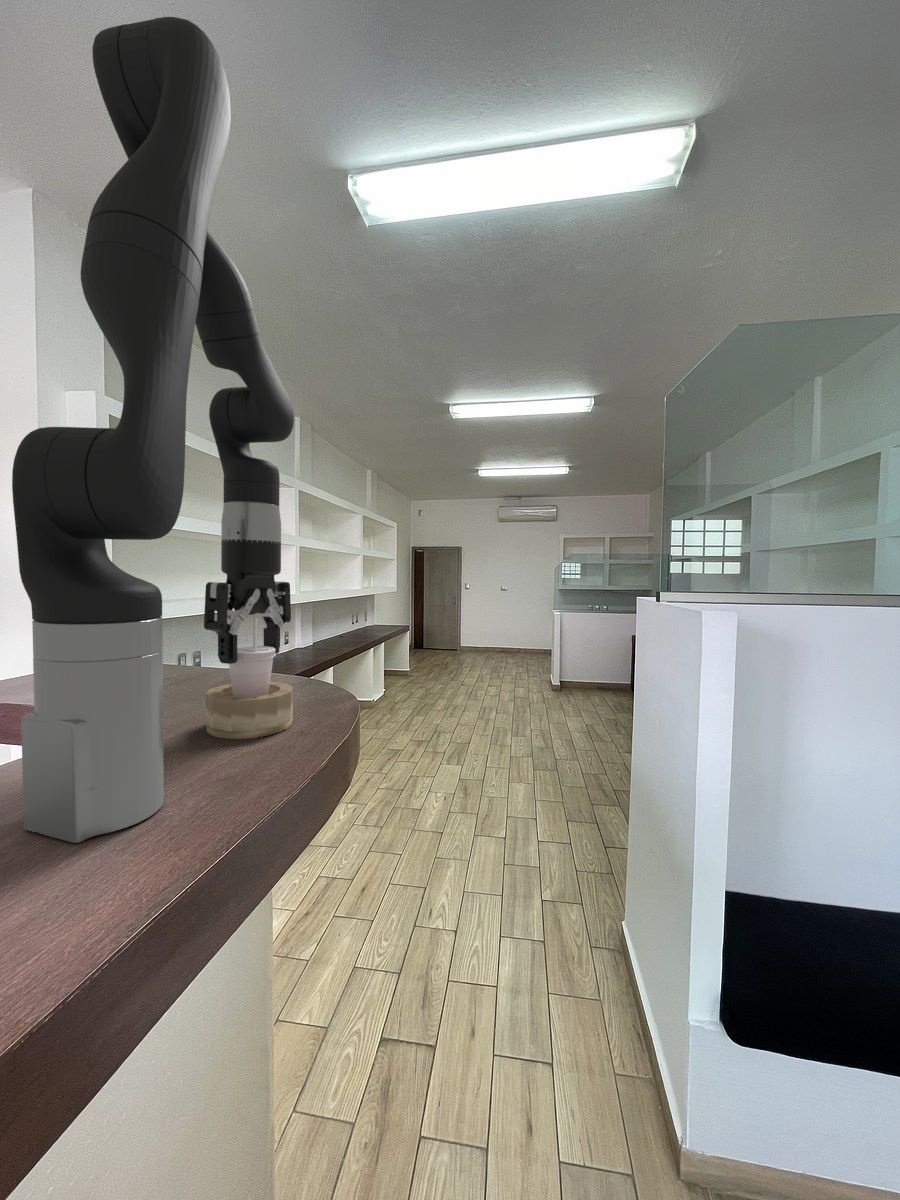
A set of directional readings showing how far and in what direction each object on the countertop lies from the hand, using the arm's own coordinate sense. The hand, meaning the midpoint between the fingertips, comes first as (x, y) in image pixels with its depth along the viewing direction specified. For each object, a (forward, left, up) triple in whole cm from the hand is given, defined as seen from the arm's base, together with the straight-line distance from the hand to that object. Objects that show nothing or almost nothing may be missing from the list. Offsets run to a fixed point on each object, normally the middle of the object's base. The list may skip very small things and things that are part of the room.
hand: (251, 658), depth 70 cm
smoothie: (0, 0, -9) cm, 9 cm away
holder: (0, 0, -9) cm, 9 cm away
